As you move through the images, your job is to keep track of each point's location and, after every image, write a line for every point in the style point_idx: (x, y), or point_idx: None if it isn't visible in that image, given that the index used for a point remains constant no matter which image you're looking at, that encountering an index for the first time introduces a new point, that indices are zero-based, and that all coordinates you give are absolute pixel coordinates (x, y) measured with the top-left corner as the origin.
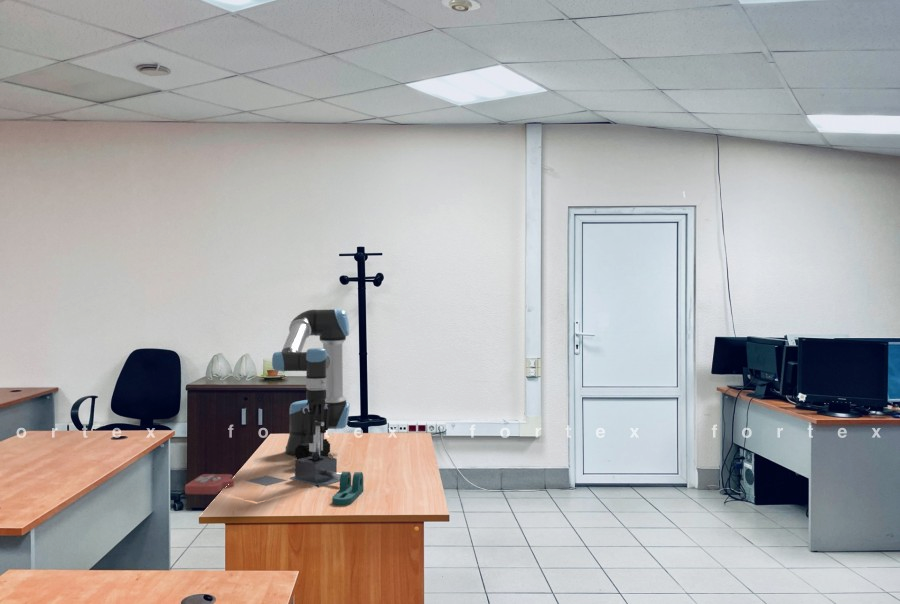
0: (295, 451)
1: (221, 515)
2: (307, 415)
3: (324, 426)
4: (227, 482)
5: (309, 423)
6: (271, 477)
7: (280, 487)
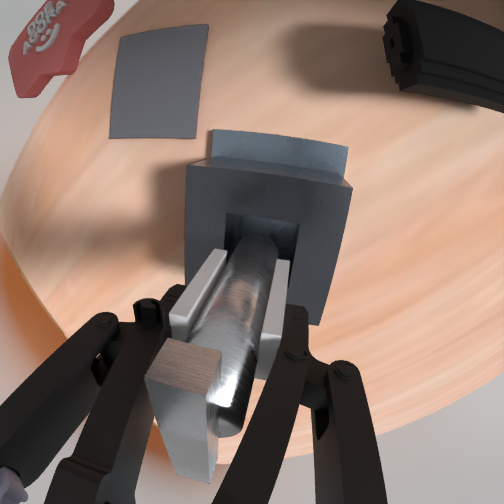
0: (395, 5)
1: (2, 234)
2: (26, 457)
3: (354, 394)
4: (48, 74)
5: (80, 414)
6: (192, 59)
7: (135, 175)
